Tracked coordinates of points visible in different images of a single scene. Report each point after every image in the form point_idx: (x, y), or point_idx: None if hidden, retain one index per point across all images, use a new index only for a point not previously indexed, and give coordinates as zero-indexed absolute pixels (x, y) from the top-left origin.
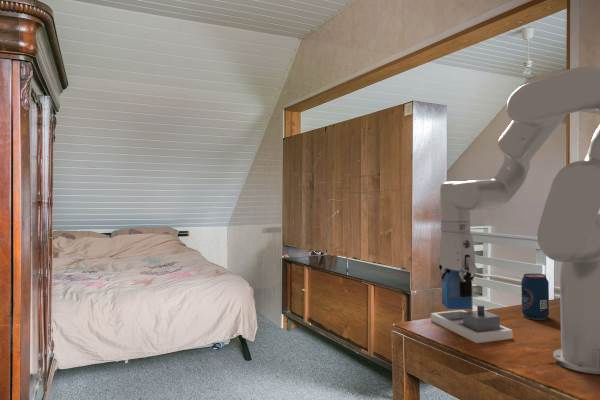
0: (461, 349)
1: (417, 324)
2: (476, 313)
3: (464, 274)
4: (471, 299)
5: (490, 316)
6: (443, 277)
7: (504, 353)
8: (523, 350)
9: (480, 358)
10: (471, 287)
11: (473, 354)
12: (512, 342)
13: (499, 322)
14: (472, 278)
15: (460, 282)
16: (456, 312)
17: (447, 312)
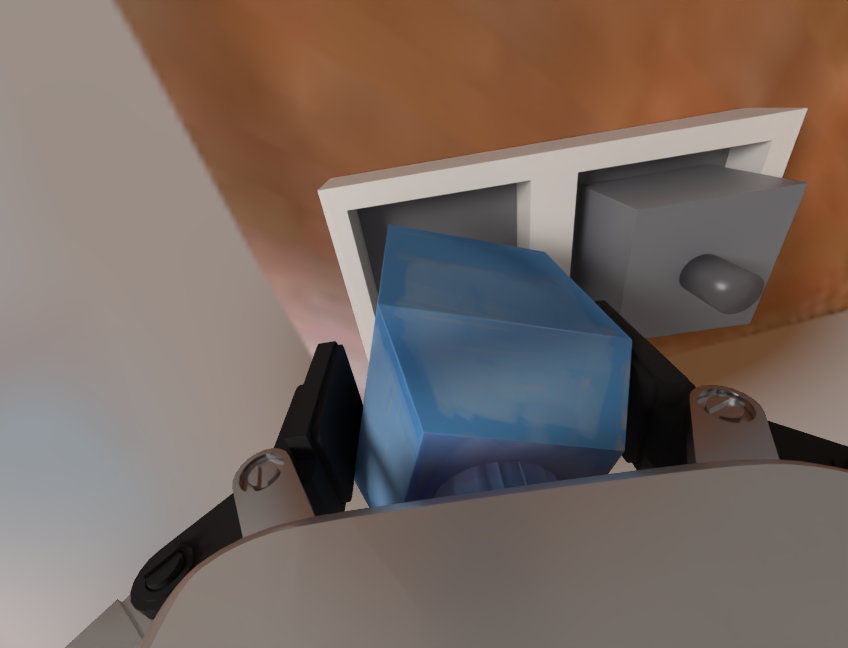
0: (676, 347)
1: None
2: (672, 288)
3: (577, 448)
4: (568, 277)
5: (768, 242)
6: (350, 497)
7: (802, 229)
8: (843, 124)
9: (772, 328)
10: (641, 338)
11: (733, 332)
12: (741, 108)
13: (769, 176)
14: (795, 435)
15: (647, 466)
16: (356, 244)
17: (369, 299)
